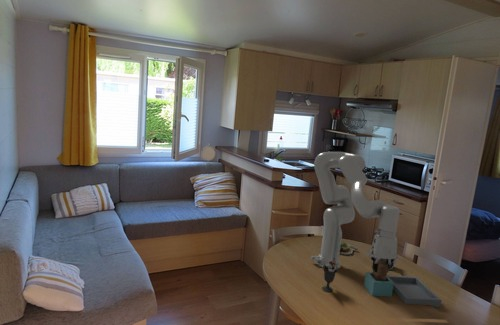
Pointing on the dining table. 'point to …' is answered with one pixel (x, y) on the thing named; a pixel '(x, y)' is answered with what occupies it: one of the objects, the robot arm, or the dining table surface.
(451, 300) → the dining table surface
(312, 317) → the dining table surface
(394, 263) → the ceramic mug
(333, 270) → the sundae
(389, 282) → the teal open box
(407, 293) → the tray
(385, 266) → the peg
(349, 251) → the salad plate
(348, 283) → the dining table surface
